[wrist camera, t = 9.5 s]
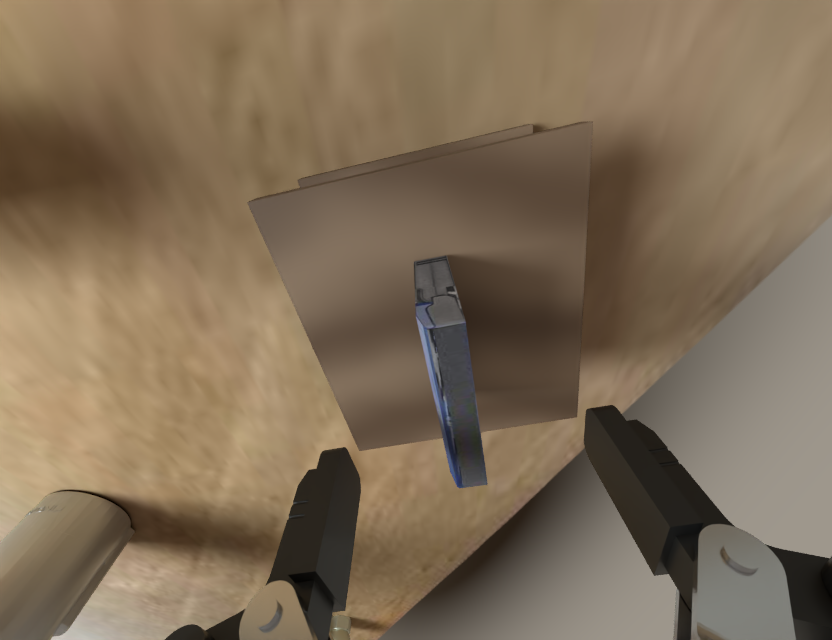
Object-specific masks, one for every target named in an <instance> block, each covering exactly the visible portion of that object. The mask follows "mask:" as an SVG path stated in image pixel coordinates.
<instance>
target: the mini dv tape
mask: <svg viewBox="0 0 832 640" xmlns="http://www.w3.org/2000/svg"><path fill="white" fill-rule="evenodd" d="M414 284H415V311H416V319H417V324H418V328H419V333H420V337H421V342H422V346H423V351H424V355H425V360H426V364H427V369H428V373H429V378H430V382H431V387H432V391H433V396H434V400H435V405H436V409H437V414H438V418H439V423H440V427H441V432H442V436H443V441H444V445H445V450H446V454H447V459H448V463H449V468H450V472H451V474H452V476H453V478H454V481H455V483H456V485H457V487H459V488H465V487H473V486H480V485H487V477H486V470H485V462H484V455H483V447H482V440H481V433H480V425H479V418H478V410H477V403H476V395H475V388H474V381H473V373H472V366H471V358H470V351H469V343H468V336H467V329H466V322H465V318H464V314H463V311H462V307H461V304H460V300H459V297H458V293H457V290H456V286H455V283H454V279H453V276H452V272H451V269H450V266H449V262H448V259H447V255H446V256H441V257H435V258H430V259H425V260H420V261H414Z"/></svg>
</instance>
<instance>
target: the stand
mask: <svg viewBox="0 0 832 640" xmlns="http://www.w3.org/2000/svg"><path fill="white" fill-rule="evenodd" d="M592 130H593V121H591V122H579V123H574V124H570V125H566V126H562V127H557V128H553V129H549V130H545V131H540V132H536V133H533V124H528V125H523V126H519V127H515V128H511V129H506V130H502V131H498V132H494V133H490V134H485V135H481V136H477V137H473V138H469V139H464V140H460V141H456V142H452V143H447V144H443V145H439V146H435V147H431V148H426V149H422V150H418V151H414V152H410V153H405V154H401V155H397V156H393V157H389V158H384V159H380V160H376V161H372V162H368V163H363V164H359V165H355V166H351V167H347V168H342V169H338V170H334V171H330V172H326V173H321V174H317V175H313V176H309V177H305V178H301V179H299V180H298V183H299V186H300V188H298V189H294V190H290V191H285V192H281V193H277V194H272V195H268V196H264V197H260V198H256V199H254V200H252V201H249V202H247V203H248V205H249V207H250V210H251V212H252V214H253V216H254V218H255V221H256V223H257V225H258V227H259V230H260V232H261V234H262V236H263V238H264V241H265V243H266V245H267V247H268V249H269V252H270V254H271V256H272V258H273V261H274V263H275V265H276V267H277V269H278V272H279V274H280V276H281V278H282V280H283V283H284V285H285V287H286V289H287V292H288V294H289V296H290V298H291V300H292V303H293V305H294V307H295V309H296V311H297V314H298V316H299V318H300V320H301V323H302V325H303V327H304V329H305V331H306V334H307V336H308V338H309V340H310V342H311V345H312V347H313V349H314V351H315V354H316V356H317V358H318V360H319V362H320V365H321V367H322V369H323V371H324V373H325V376H326V378H327V380H328V382H329V385H330V387H331V389H332V391H333V393H334V396H335V398H336V400H337V402H338V405H339V407H340V409H341V411H342V413H343V416H344V418H345V420H346V422H347V424H348V427H349V429H350V431H351V433H352V436H353V438H354V440H355V442H356V444H357V447H358V449H359V451H362V450H369V449H375V448H382V447H388V446H395V445H401V444H407V443H414V442H420V441H427V440H433V439H440V438H443V436H442V432H441V427H440V423H439V418H438V414H437V409H436V405H435V400H434V396H433V391H432V387H431V382H430V378H429V373H428V369H427V364H426V360H425V355H424V351H423V346H422V342H421V337H420V333H419V328H418V324H417V319H416V311H415V284H414V261H420V260H425V259H430V258H435V257H441V256H446V255H447V259H448V262H449V266H450V269H451V272H452V276H453V279H454V283H455V286H456V290H457V293H458V297H459V300H460V304H461V307H462V311H463V314H464V318H465V322H466V329H467V336H468V343H469V351H470V358H471V366H472V373H473V381H474V388H475V395H476V403H477V410H478V418H479V425H480V432H485V431H491V430H498V429H504V428H510V427H517V426H523V425H530V424H536V423H543V422H549V421H555V420H562V419H568V418H575V417H577V409H578V391H579V372H580V353H581V335H582V316H583V297H584V279H585V260H586V242H587V223H588V204H589V186H590V167H591V149H592Z"/></svg>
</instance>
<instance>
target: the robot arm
mask: <svg viewBox="0 0 832 640" xmlns="http://www.w3.org/2000/svg"><path fill="white" fill-rule="evenodd" d="M584 445H585V449H586V452H587V455H588V457H589V460H590V461H591V463H592V465H593V467H594V468H595V470H596V472H597V474H598V476H599V478H600V479H601V481H602V483H603V484H604V487H605V488H606V490H607V492H608V494H609V496H610V497H611V499H612V501H613V503H614V504H615V506H616V508H617V510H618V512H619V513H620V515H621V517H622V519H623V520H624V522H625V524H626V526H627V527H628V530H629V531H630V533H631V535H632V537H633V539H634V540H635V542H636V544H637V545H638V547H639V549H640V551H641V553H642V555H643V556H644V558H645V560H646V562H647V564H648V565H649V567H650V569H651V571H652V573H653V574H654V576H655V575H663V574H669V575H670V577H671V578H672V580H673V582H674V583H675V585H676V587H677V591H676V605H675V621H674V637H673V638H674V639H673V640H832V557H831V558H830V559H829V558H825V557H820V556H814V555H809V554H803V553H799V552H793V551H788V550H783V549H779V548H775V547H772V546H769V545H766V544H764V543H763V542H761V541H760V540H759V539H757V538H756V537H754V536H753V535H751V534H749V533H748V532H746V531H743V530H741V529H739V528H736V527H735V526H734V525H732V523H730V522H729V521H728V520H727V519H726V518H725V517H724V515H723V514H722V513H721V512H720V511H719V509H718V508H717V507H716V506H715V505H714V503H713V502H712V501H711V500H710V499H709V497H708V496H707V495H706V494H705V492H704V491H703V490H702V489H701V488H700V486H699V485H698V484H697V483H696V482H695V480H694V479H693V478H692V477H691V475H690V474H689V473H688V472H687V471H686V470H685V468H684V467H683V466H682V465H681V464H679V462H678V460H677V459H676V457H675V456H674V455H673V454H672V453H671V451H668V449H667V446H666V445H665V444H664V443H663V442H662V440H661V439H660V438H659V437H658V436H657V434H656V433H655V432H654V431H652V430H651V429H649V428H648V427H646V426H645V425H644V424H642V423H641V422H639V421H638V420H630V421H626V420H625V418H624V417H623V416H622V414H621V413H620V412H619V410H618V409H617V408H616V407H615V406H613V405H609V406H602V407H596V408H590V409H587V410H586V418H585V432H584ZM360 493H361V484H360V477H359V474H358V472H357V469H356V467H355V465H354V463H353V461H352V459H351V457H350V455H349V452H348V450H347V449H346V448H345V447H343V448H337V449H331V450H325V451H323V452H322V453H321V455H320V458H319V462H318V466H317V469H312V470H308V472H307V473H306V475H305V476H304V478H303V479H302V481H301V482H300V484H299V485H298V488H297V491H296V494H295V498H294V501H293V505H292V507H291V510H290V514H289V520H287V523H286V526H285V530H284V533H283V536H282V539H281V542H280V546H279V549H278V552H277V555H276V559H275V562H274V565H273V568H272V571H271V574H270V577H269V579H268V581H267V584H266V585H265V586H264V587H263V588H262V589H260V590H259V591H258V592H257V593H256V594H255V596H254V597H253V598H252V599H251V601H250V602H249V604H248V605H247V607H246V608H245V609H244V610H243V611H241V612H239V613H238V614H236V615H234V616H232V617H230V618H228V619H226V620H225V621H223V622H221V623H219V624H217V625H215V626H213V627H211V628H209V629H207V630H206V631H205V630H203V629H202V628H201V627H199V626H197V625H193V624H192V625H186V626H183V627H181V628H179V629H177V630H176V631H174V632H173V633H172V634H171V635H169V636H168V637H167V638H166V639H165V640H334V639H333V636H332V634H331V632H330V624H331V618H332V612H337V611H345V607H346V599H347V592H348V584H349V577H350V569H351V561H352V554H353V546H354V539H355V531H356V523H357V516H358V508H359V501H360ZM130 525H131V521H130V518H129V516H128V515H127V514H126V512H125V511H123V510H122V509H121V508H120V507H118V506H117V505H115V504H114V503H112V502H110V501H108V500H106V499H103V498H100V497H97V496H94V495H90V494H87V493H81V492H71V491H63V492H56V493H52V494H49V495H47V496H46V497H45V498H44V499H43V500H42V501H41V502H40V503H39V504H38V505H37V506H36V507H35V508H34V509H32V510H31V511H30V512H29V513H28V514H27V515H26V516H25V517H24V518H23V519H22V520H21V521H20V522H19V524H18V525H17V526H16V527H15V528H14V529H13V530H12V531H11V532H10V533H9V534H7V535H6V536H5V537H4V538H3V539H2V540H1V541H0V640H50V639H51V638H52V636H60V635H62V634H64V633H65V632H66V631H67V630H68V629H69V628H70V626H71V625H72V623H73V622H74V620H75V619H76V617H77V616H78V614H79V613H80V612H81V610H82V609H83V607H84V606H85V604H86V603H87V601H88V600H89V598H90V597H91V595H92V594H93V593H94V591H95V590H96V588H97V587H98V585H99V584H100V582H101V581H102V579H103V578H104V576H105V575H106V574H107V572H108V571H109V569H110V568H111V566H112V565H113V563H114V562H115V560H116V559H117V557H118V556H119V555H120V553H121V552H122V550H123V549H124V547H125V546H126V544H127V543H128V541H129V540H130V539H131V537H132V536H133V534H134V533H135V531H134V530H133V529H132V528H131V526H130Z"/></svg>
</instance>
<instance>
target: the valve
mask: <svg viewBox="0 0 832 640" xmlns="http://www.w3.org/2000/svg"><path fill="white" fill-rule="evenodd" d="M350 629H351V619H350V617H348V616H342V615H337V616H334V617H332V618H331V624H330V632H331V634H332V636H333V639H334V640H350V635H349V634H350Z"/></svg>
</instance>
